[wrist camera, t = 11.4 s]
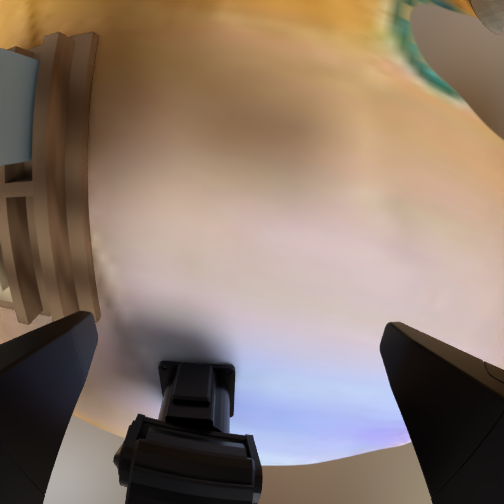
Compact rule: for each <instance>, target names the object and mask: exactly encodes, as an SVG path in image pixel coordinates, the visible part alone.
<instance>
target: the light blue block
mask: <svg viewBox="0 0 504 504" xmlns="http://www.w3.org/2000/svg"><path fill="white" fill-rule="evenodd" d="M39 64H40V61H39V60H36V59H33V58H30V57H28V56H24V55H21V54H18V53H15V52H12V51H9V50H5V49H2V48H0V166H2V165H8V164H14V163H20V162H27V161H32V135H33V116H34V104H35V94H36V85H37V77H38V70H39Z"/></svg>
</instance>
